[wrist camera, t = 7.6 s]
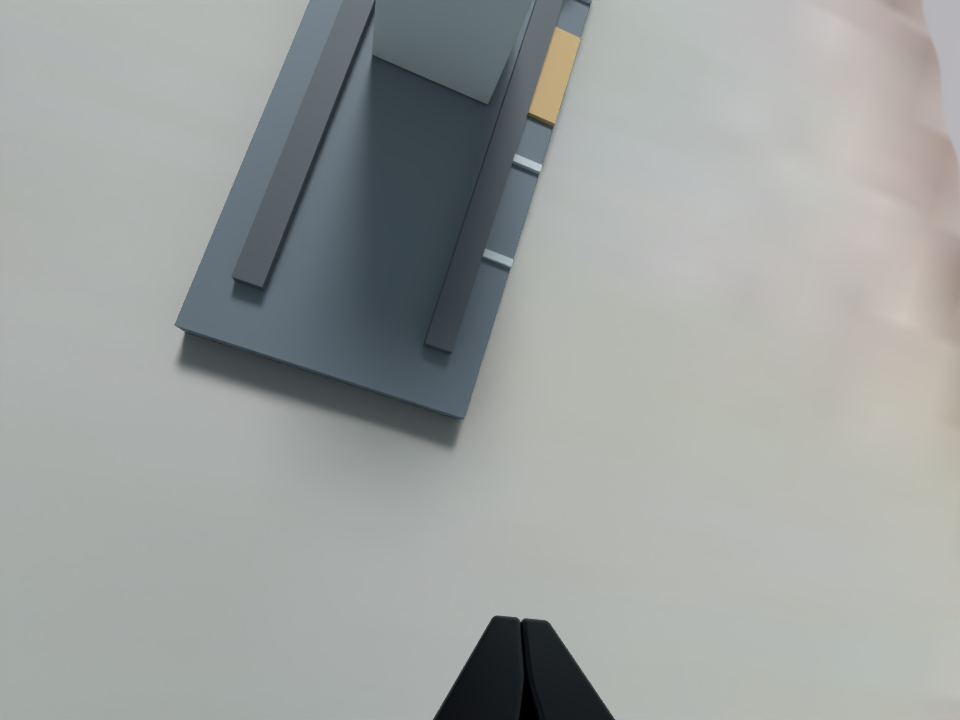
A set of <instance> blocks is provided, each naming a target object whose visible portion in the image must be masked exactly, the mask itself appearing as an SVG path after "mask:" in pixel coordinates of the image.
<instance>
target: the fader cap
mask: <svg viewBox="0 0 960 720" xmlns="http://www.w3.org/2000/svg"><path fill="white" fill-rule="evenodd" d="M532 2H533V0H376V3H375V17H374V31H373V46H372V55H374V56H376V57H379V58H381V59H383V60H385V61H388V62H390V63H392V64H395V65H397V66H399V67H402V68H404V69H406V70H409V71H411V72H413V73H416V74H418V75H420V76H423V77H425V78H427V79H430V80H432V81H434V82H436V83H439V84H441V85H443V86H446V87H448V88H450V89H453V90H455V91H457V92H460V93H462V94H464V95H467V96H469V97H471V98H474V99H476V100H478V101H481V102H483V103H485V104H488V103H489V101H490V99H491V96H492V94H493V92H494V89H495V87H496V85H497V82H498V80H499V78H500V76H501V73H502V71H503V69H504V66H505V64H506V62H507V59H508V57H509V55H510V52H511V50H512V48H513V46H514V43H515V41H516V39H517V36H518V34H519V32H520V29H521V27H522V25H523V23H524V20H525V18H526V16H527V13H528V11H529V9H530V6H531V4H532Z"/></svg>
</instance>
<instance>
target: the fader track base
mask: <svg viewBox="0 0 960 720" xmlns="http://www.w3.org/2000/svg"><path fill="white" fill-rule="evenodd" d="M591 2H592V0H533V2H532V4H531V6H530V9H529V11H528V13H527V16H526V18H525V20H524V23H523V25H522V27H521V29H520V32H519V34H518V36H517V39H516V41H515V43H514V46H513V48H512V50H511V52H510V55H509V57H508V59H507V62H506V64H505V66H504V69H503V71H502V73H501V76H500V78H499V80H498V82H497V85H496V87H495V89H494V92H493V94H492V96H491V99H490V101H489V103H488V104H485V103H483V102H481V101H478V100H476V99H474V98H471V97H469V96H467V95H464V94H462V93H460V92H457V91H455V90H453V89H450V88H448V87H446V86H443V85H441V84H439V83H436V82H434V81H432V80H430V79H427V78H425V77H423V76H420V75H418V74H416V73H413V72H411V71H409V70H406V69H404V68H402V67H399V66H397V65H395V64H392V63H390V62H388V61H385V60H383V59H381V58H379V57H376V56H374V55H372V46H373V31H374V17H375V3H376V0H310V2H309V4H308V6H307V9H306V11H305V14H304V16H303V18H302V21H301V23H300V26H299V28H298V30H297V33H296V35H295V38H294V40H293V42H292V45H291V47H290V50H289V52H288V54H287V57H286V59H285V62H284V64H283V66H282V69H281V71H280V74H279V76H278V78H277V81H276V83H275V86H274V88H273V90H272V93H271V95H270V98H269V100H268V102H267V105H266V107H265V110H264V112H263V114H262V117H261V119H260V121H259V124H258V126H257V129H256V131H255V133H254V136H253V138H252V141H251V143H250V145H249V148H248V150H247V153H246V155H245V157H244V160H243V162H242V165H241V167H240V169H239V172H238V174H237V177H236V179H235V181H234V184H233V186H232V189H231V191H230V193H229V196H228V198H227V201H226V203H225V205H224V208H223V210H222V213H221V215H220V217H219V220H218V222H217V225H216V227H215V229H214V232H213V234H212V236H211V239H210V241H209V244H208V246H207V248H206V251H205V253H204V256H203V258H202V260H201V263H200V265H199V268H198V270H197V272H196V275H195V277H194V280H193V282H192V284H191V287H190V289H189V292H188V294H187V296H186V299H185V301H184V304H183V306H182V308H181V311H180V313H179V316H178V318H177V320H176V323H175V326H177V327H178V328H180V329H181V330H183V331H185V332H188V333H191V334H194V335H197V336H200V337H203V338H206V339H209V340H213V341H216V342H219V343H222V344H225V345H228V346H231V347H234V348H238V349H241V350H244V351H247V352H250V353H253V354H256V355H259V356H262V357H266V358H269V359H272V360H275V361H278V362H281V363H284V364H287V365H291V366H294V367H297V368H300V369H303V370H306V371H309V372H312V373H315V374H319V375H322V376H325V377H328V378H331V379H334V380H337V381H340V382H344V383H347V384H350V385H353V386H356V387H359V388H362V389H365V390H368V391H372V392H375V393H378V394H381V395H384V396H387V397H390V398H393V399H397V400H400V401H403V402H406V403H409V404H412V405H415V406H418V407H421V408H425V409H428V410H431V411H434V412H437V413H440V414H443V415H446V416H450V417H453V418H456V419H464V418H465V415H466V412H467V408H468V405H469V402H470V399H471V395H472V392H473V389H474V385H475V382H476V379H477V376H478V372H479V369H480V366H481V362H482V359H483V356H484V352H485V349H486V346H487V343H488V339H489V336H490V333H491V329H492V326H493V323H494V320H495V316H496V313H497V310H498V306H499V303H500V300H501V297H502V293H503V290H504V287H505V283H506V280H507V277H508V273H509V270H510V268H511V267H512V264H513V260H514V259H513V257H514V254H515V250H516V247H517V244H518V241H519V237H520V234H521V231H522V227H523V224H524V221H525V218H526V214H527V211H528V208H529V204H530V201H531V198H532V195H533V191H534V188H535V185H536V181H537V178H538V175H539V173H540V172H541V168H542V162H543V158H544V155H545V152H546V148H547V145H548V142H549V139H550V135H551V132H552V129H553V126H554V124H555V122H556V119H557V116H558V112H559V109H560V106H561V102H562V99H563V96H564V92H565V89H566V86H567V83H568V79H569V76H570V73H571V69H572V66H573V63H574V59H575V56H576V53H577V50H578V46H579V43H580V40H581V38H580V37H581V33H582V30H583V27H584V23H585V20H586V17H587V14H588V10H589V7H590V4H591Z"/></svg>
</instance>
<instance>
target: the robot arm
mask: <svg viewBox="0 0 960 720" xmlns="http://www.w3.org/2000/svg"><path fill="white" fill-rule="evenodd" d="M433 720H615V719H614V717H613V716H612V714H611V713H610V711H609V710H608V709H607V707H606V706H605V704H604V703H603V701H602V700H601V698H600V697H599V695H598V694H597V692H596V691H595V689H594V688H593V686H592V685H591V683H590V682H589V680H588V679H587V677H586V676H585V675H584V673H583V672H582V670H581V669H580V667H579V666H578V664H577V663H576V661H575V660H574V658H573V657H572V655H571V654H570V652H569V651H568V649H567V648H566V646H565V645H564V643H563V642H562V641H561V639H560V638H559V636H558V635H557V633H556V632H555V630H554V629H553V627H552V626H551V624H550V623H549V622H548V621H545V620H538V619H528V618H524V619H523V620H522V621H521V622H520V620H519V619H518V618H516V617H507V616H494V617H493V618H492V619H491V621H490V623H489V624H488V626H487V628H486V629H485V631H484V633H483V635H482V636H481V638H480V640H479V641H478V643H477V645H476V647H475V648H474V650H473V652H472V654H471V655H470V657H469V659H468V660H467V662H466V664H465V666H464V667H463V669H462V671H461V672H460V674H459V676H458V678H457V679H456V681H455V683H454V685H453V686H452V688H451V690H450V691H449V693H448V695H447V697H446V698H445V700H444V702H443V703H442V705H441V707H440V709H439V710H438V712H437V714H436V715H435V717H434V719H433Z"/></svg>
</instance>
